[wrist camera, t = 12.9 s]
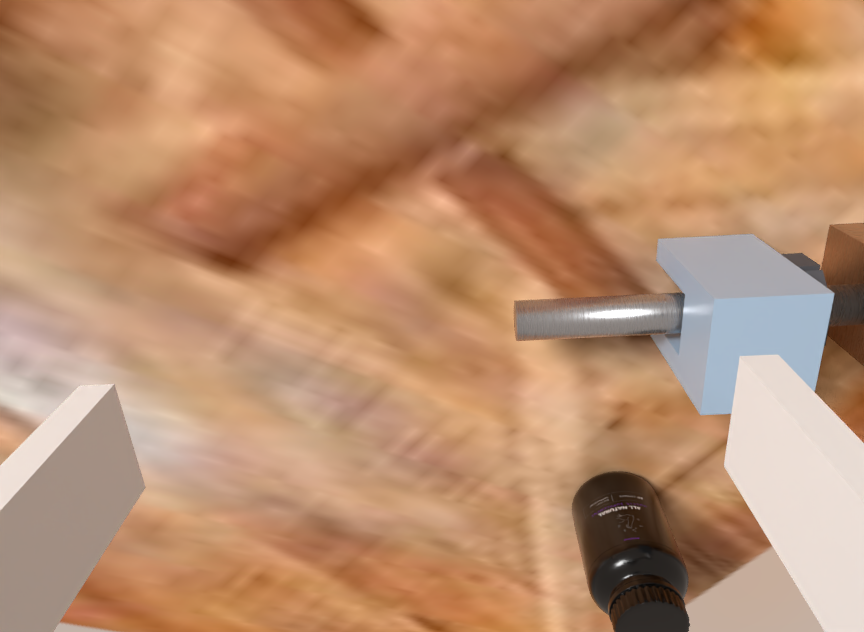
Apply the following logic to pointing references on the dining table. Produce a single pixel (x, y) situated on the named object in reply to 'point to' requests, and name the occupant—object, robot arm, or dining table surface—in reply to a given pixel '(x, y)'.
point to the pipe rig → (663, 313)
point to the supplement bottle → (630, 554)
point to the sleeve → (739, 314)
